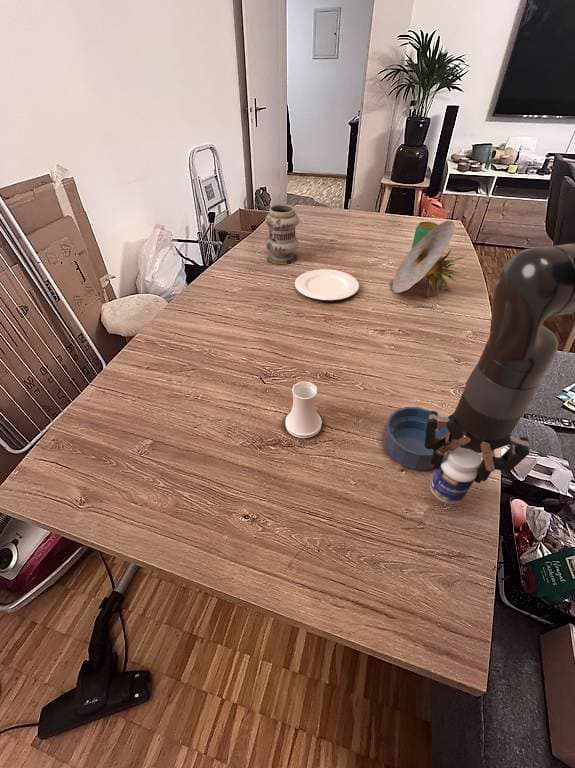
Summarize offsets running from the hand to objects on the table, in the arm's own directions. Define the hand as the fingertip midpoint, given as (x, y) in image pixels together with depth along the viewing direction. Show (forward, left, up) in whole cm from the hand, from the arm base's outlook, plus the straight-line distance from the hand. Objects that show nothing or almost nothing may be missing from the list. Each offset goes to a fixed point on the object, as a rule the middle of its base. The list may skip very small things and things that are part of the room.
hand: (456, 471), depth 61 cm
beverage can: (+58, -84, -8) cm, 102 cm away
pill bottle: (0, 0, -6) cm, 6 cm away
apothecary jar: (+93, -46, -8) cm, 104 cm away
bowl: (+10, -6, -8) cm, 14 cm away
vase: (+29, +6, -8) cm, 31 cm away
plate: (+66, -41, -8) cm, 78 cm away
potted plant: (+44, -63, -8) cm, 77 cm away
